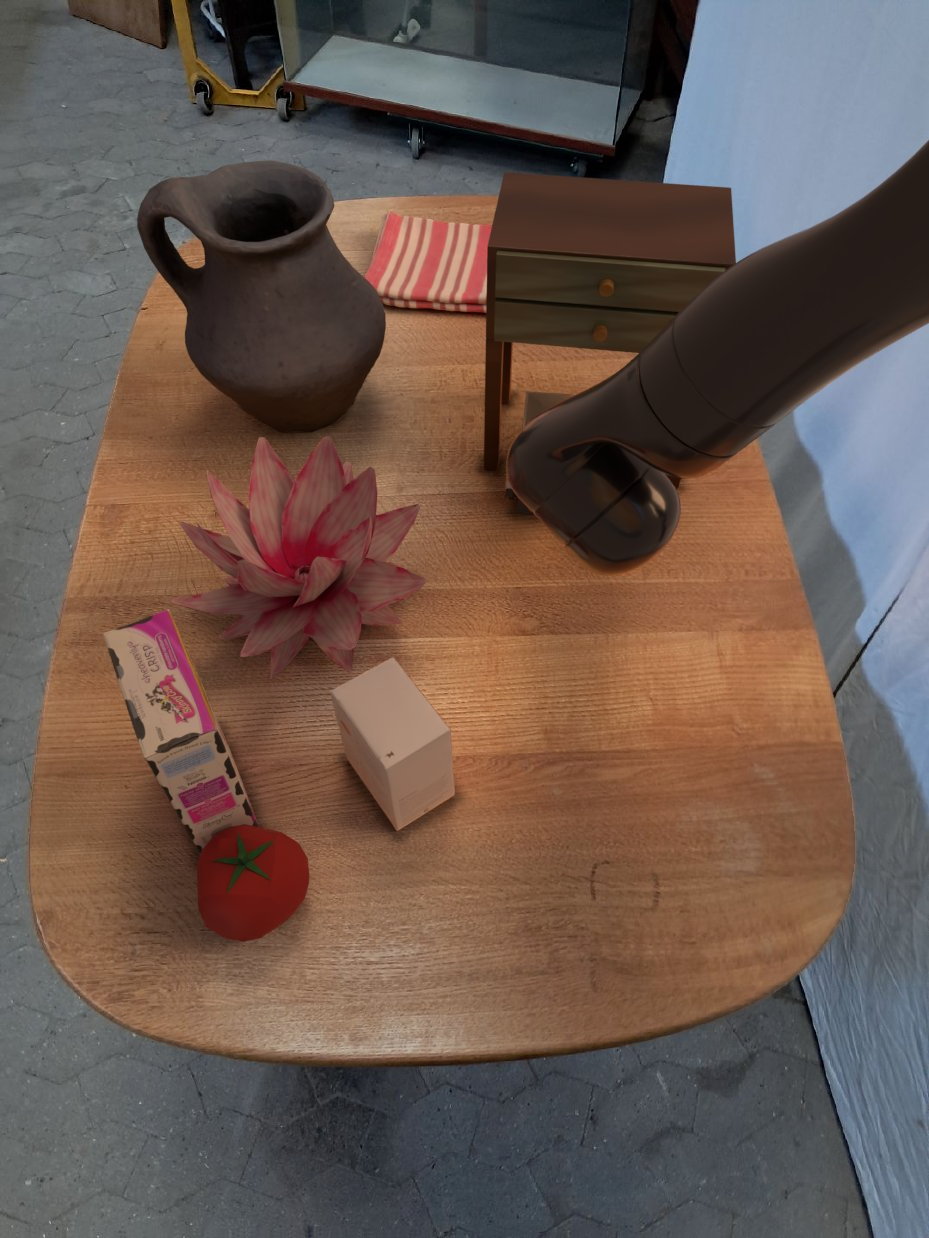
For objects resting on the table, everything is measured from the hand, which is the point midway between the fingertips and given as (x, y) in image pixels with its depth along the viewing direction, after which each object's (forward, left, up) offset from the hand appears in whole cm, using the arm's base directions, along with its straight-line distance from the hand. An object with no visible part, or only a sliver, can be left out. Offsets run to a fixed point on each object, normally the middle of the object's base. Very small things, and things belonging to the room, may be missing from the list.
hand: (574, 489), depth 86 cm
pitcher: (+20, -28, -5) cm, 34 cm away
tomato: (+39, +24, -5) cm, 46 cm away
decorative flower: (+27, 0, -5) cm, 27 cm away
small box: (+26, +19, -5) cm, 32 cm away
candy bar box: (+40, +14, -5) cm, 42 cm away
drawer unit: (-7, -10, -5) cm, 13 cm away
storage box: (-3, -5, -4) cm, 7 cm away
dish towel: (-7, -43, -5) cm, 44 cm away
